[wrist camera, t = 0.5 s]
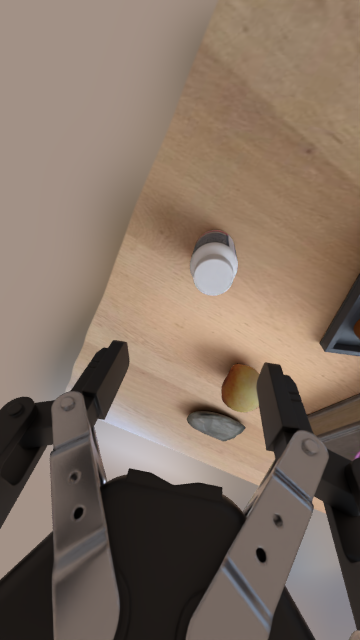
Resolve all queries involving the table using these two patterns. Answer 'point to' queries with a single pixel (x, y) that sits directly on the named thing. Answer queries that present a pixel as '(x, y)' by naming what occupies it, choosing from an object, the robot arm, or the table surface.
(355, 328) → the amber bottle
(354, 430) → the book
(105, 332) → the table surface
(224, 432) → the stone
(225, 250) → the pill bottle
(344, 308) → the tray
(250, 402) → the fruit
